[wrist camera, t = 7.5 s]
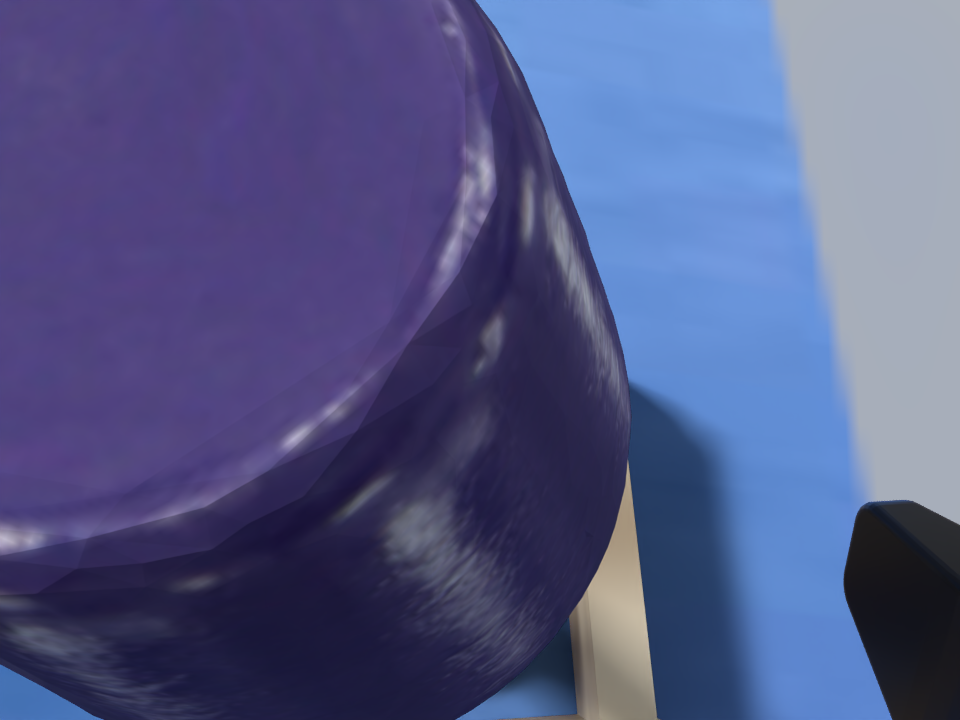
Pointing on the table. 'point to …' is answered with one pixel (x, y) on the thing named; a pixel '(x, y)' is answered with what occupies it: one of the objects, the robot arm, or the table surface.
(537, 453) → the toy lamp
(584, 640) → the birch bracket
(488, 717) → the table surface
